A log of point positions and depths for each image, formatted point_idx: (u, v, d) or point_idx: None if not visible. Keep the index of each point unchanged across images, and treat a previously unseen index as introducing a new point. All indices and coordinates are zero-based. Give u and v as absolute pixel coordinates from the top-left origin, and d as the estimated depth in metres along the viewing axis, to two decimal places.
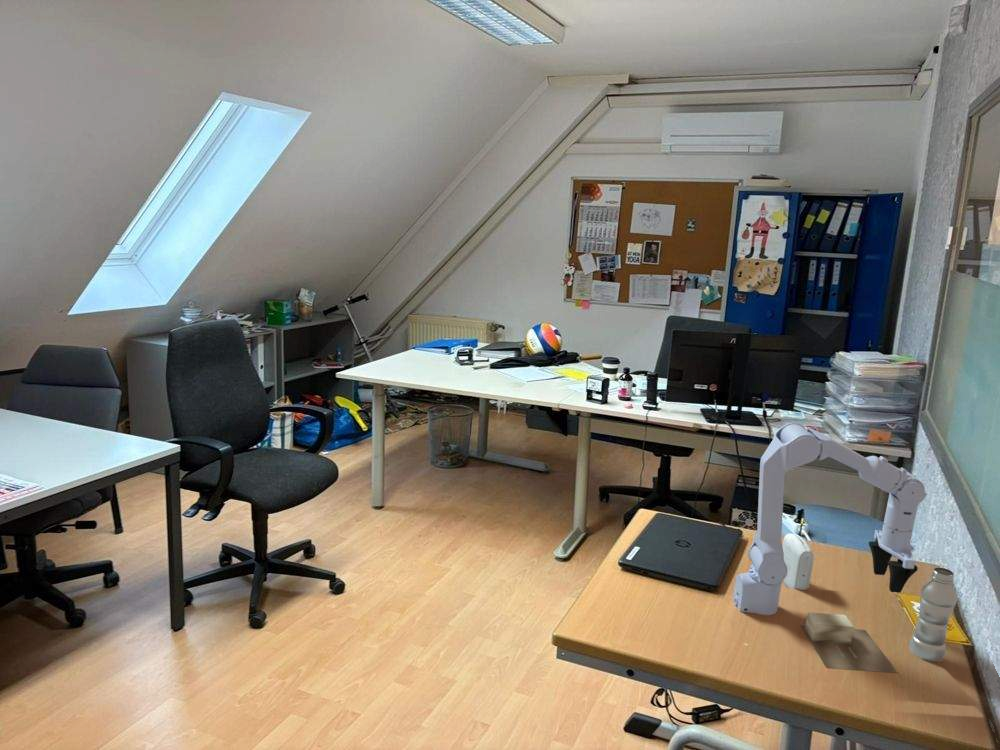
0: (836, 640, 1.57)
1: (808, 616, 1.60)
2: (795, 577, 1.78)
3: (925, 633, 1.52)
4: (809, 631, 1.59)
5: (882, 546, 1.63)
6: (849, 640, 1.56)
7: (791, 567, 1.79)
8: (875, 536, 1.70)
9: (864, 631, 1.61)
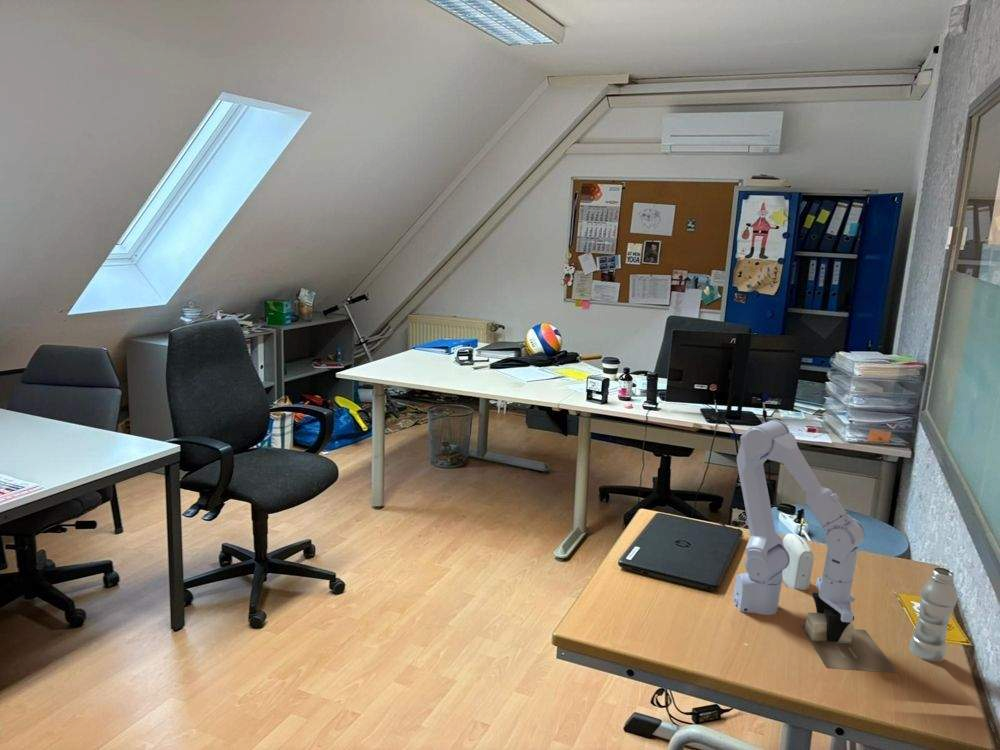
0: None
1: (808, 616, 1.60)
2: (795, 577, 1.78)
3: (925, 633, 1.52)
4: (809, 631, 1.59)
5: (821, 597, 1.56)
6: (849, 640, 1.56)
7: (791, 567, 1.79)
8: (817, 584, 1.63)
9: (864, 631, 1.61)
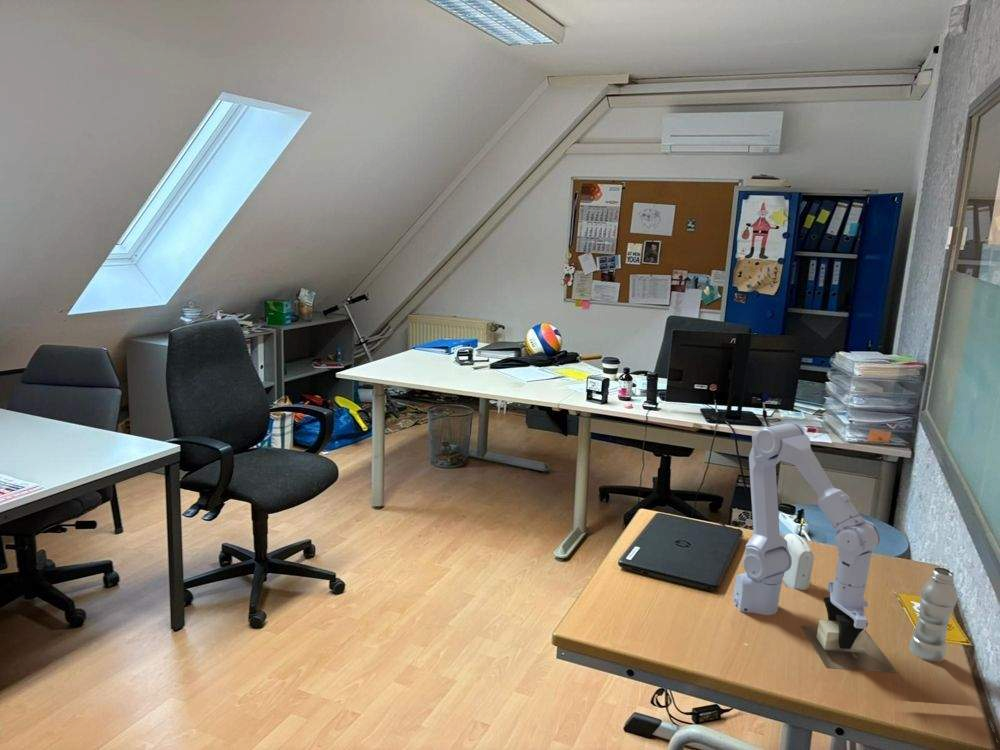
0: (849, 649, 1.51)
1: (820, 624, 1.54)
2: (795, 577, 1.78)
3: (925, 633, 1.52)
4: (821, 639, 1.53)
5: (833, 602, 1.50)
6: (863, 649, 1.51)
7: (791, 567, 1.79)
8: (828, 588, 1.58)
9: None
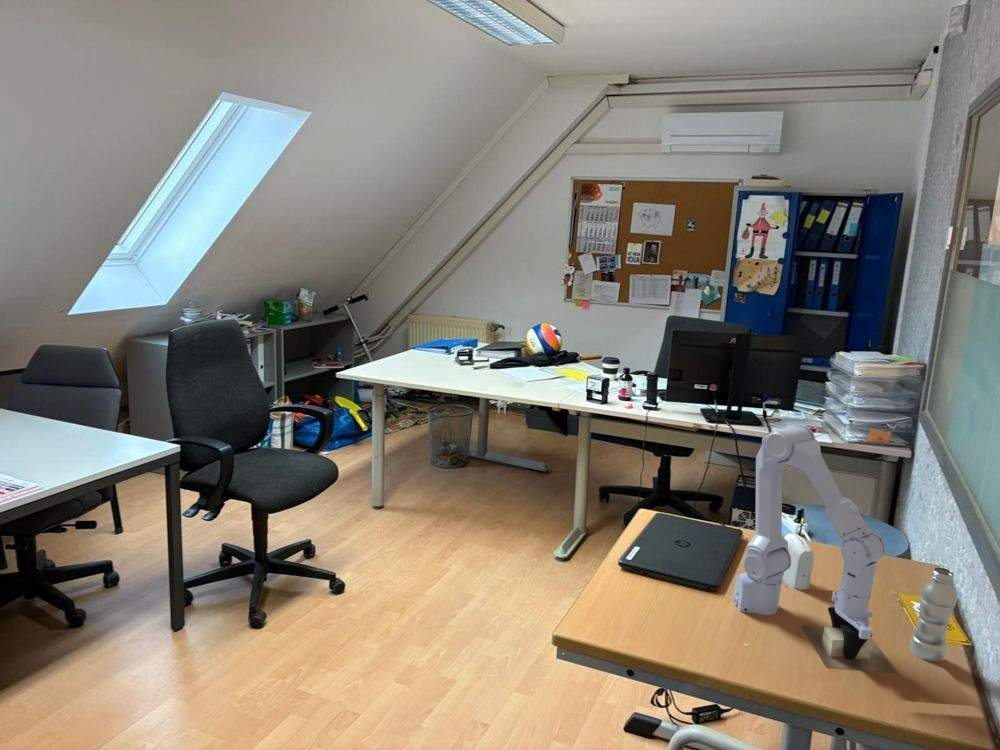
0: None
1: (825, 631, 1.54)
2: (795, 577, 1.78)
3: (925, 633, 1.52)
4: (826, 647, 1.53)
5: (838, 612, 1.51)
6: (868, 656, 1.51)
7: (791, 567, 1.79)
8: (833, 598, 1.58)
9: None
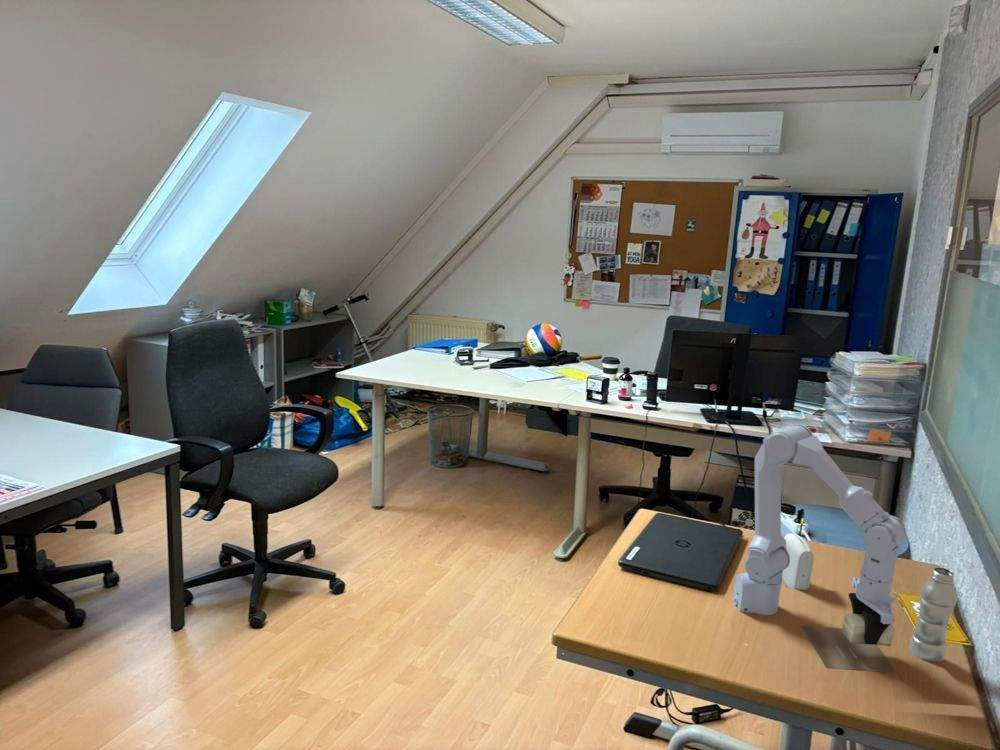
0: None
1: (846, 617, 1.53)
2: (795, 577, 1.78)
3: (925, 633, 1.52)
4: (847, 633, 1.52)
5: (859, 597, 1.50)
6: (889, 642, 1.50)
7: (791, 567, 1.79)
8: (853, 584, 1.57)
9: None
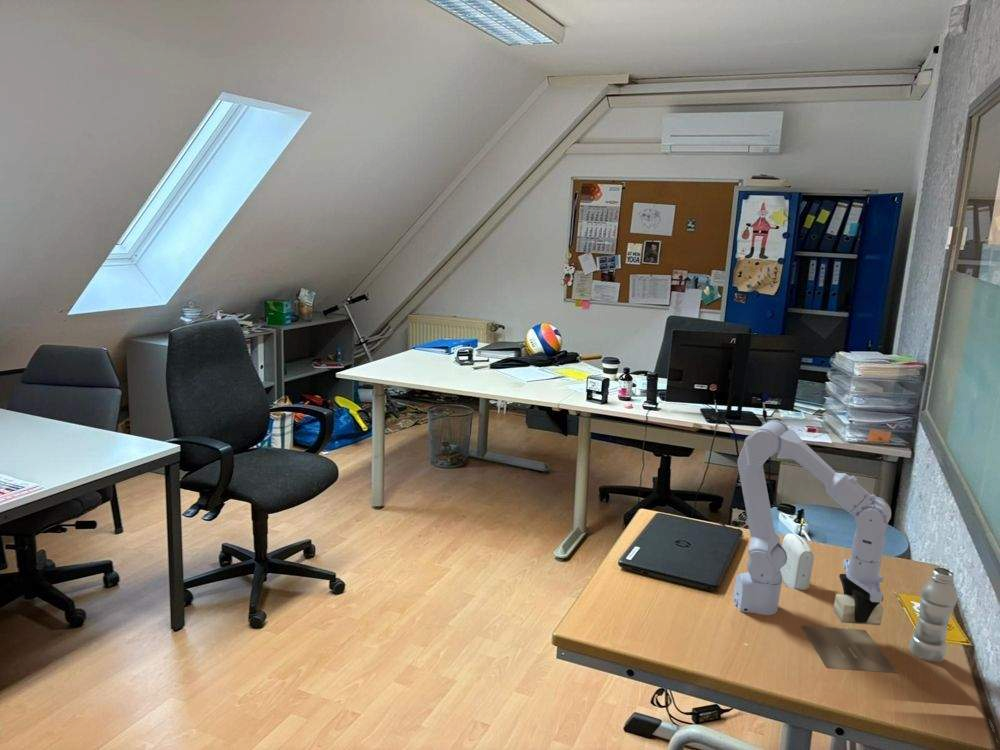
0: None
1: (837, 598, 1.58)
2: (795, 577, 1.78)
3: (925, 633, 1.52)
4: (838, 613, 1.57)
5: (849, 577, 1.55)
6: (879, 622, 1.55)
7: (791, 567, 1.79)
8: (844, 565, 1.62)
9: (864, 631, 1.61)
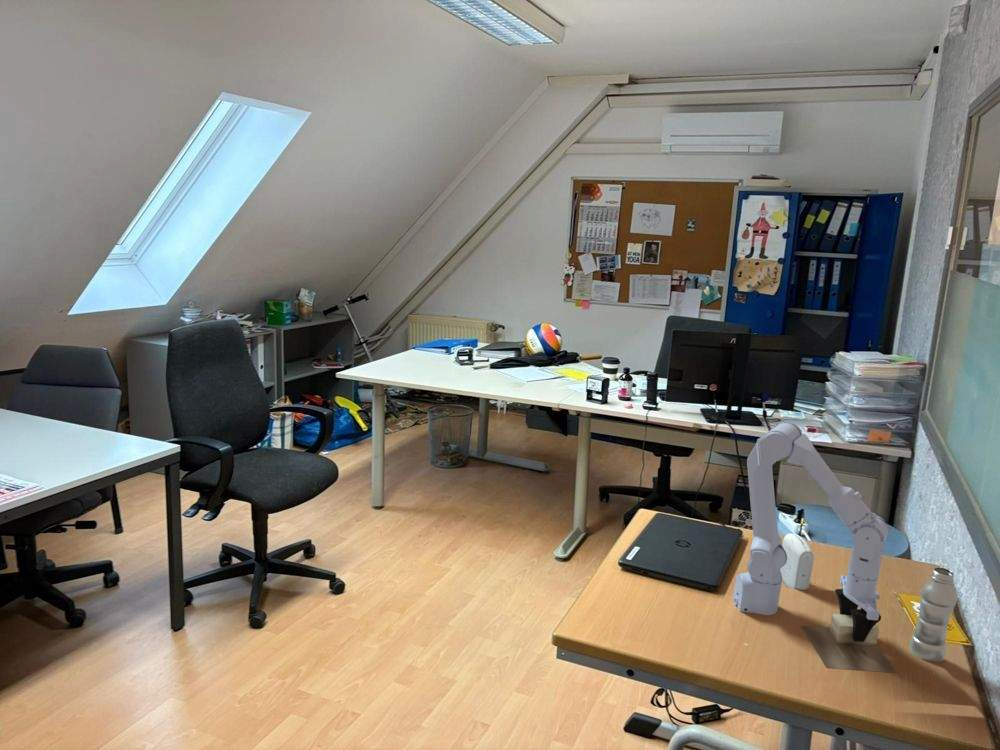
0: (861, 642, 1.56)
1: (833, 618, 1.60)
2: (795, 577, 1.78)
3: (925, 633, 1.52)
4: (834, 633, 1.59)
5: (846, 594, 1.56)
6: (874, 642, 1.56)
7: (791, 567, 1.79)
8: (841, 582, 1.63)
9: None
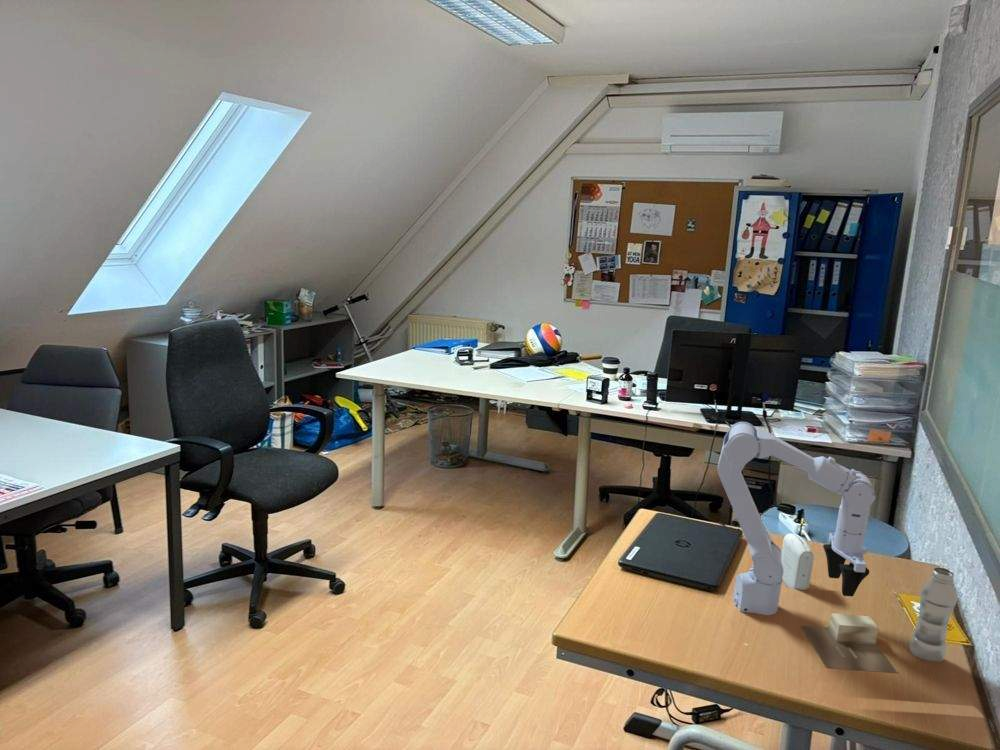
0: (860, 641, 1.57)
1: (832, 617, 1.60)
2: (795, 577, 1.78)
3: (925, 633, 1.52)
4: (833, 632, 1.59)
5: (835, 549, 1.60)
6: (874, 641, 1.56)
7: (791, 567, 1.79)
8: (830, 539, 1.68)
9: None
